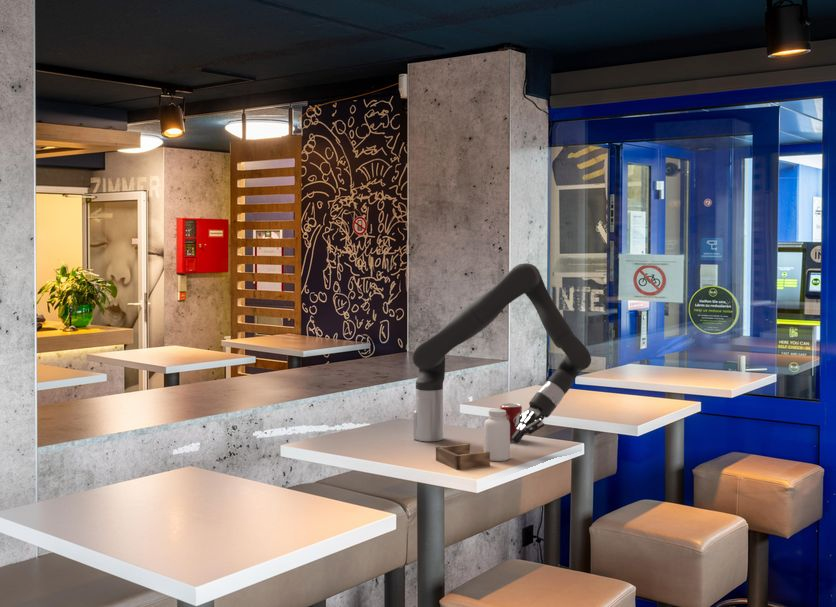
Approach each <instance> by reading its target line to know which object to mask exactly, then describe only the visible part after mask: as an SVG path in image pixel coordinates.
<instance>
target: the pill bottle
mask: <svg viewBox="0 0 836 607" xmlns="http://www.w3.org/2000/svg"><path fill="white" fill-rule="evenodd" d="M505 417H506V411H505V410H502V409H500V408H498V409H497V408H493V409H492V408H491V409H489V410H488V418H487V419H485V421H484V423H483V452H487V451H488V452H490V461H491V462H504V461H508V460H509V459H510V457H511V442H510V422H509V421H508V420H507V419H505Z"/></svg>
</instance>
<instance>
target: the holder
mask: <svg viewBox="0 0 836 607" xmlns="http://www.w3.org/2000/svg"><path fill="white" fill-rule="evenodd" d="M435 461H437V462H438V463H442V464H444V465H445V466H447V467H451V468H452V469H454V470H456V471H457V470H465V469H472V468H474V469H475V468H481V467H488V466H489V467H490V466H491V462H490V461H491V460H490V452H488V451H487V452H484V451H481V452H479V451H478V452H471V445H470V443H463V444H461V443H460V444H454V445H453V444H452V445H443V446H435Z"/></svg>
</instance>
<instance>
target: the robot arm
mask: <svg viewBox="0 0 836 607" xmlns="http://www.w3.org/2000/svg"><path fill="white" fill-rule="evenodd" d="M522 295H525V296H526V297H527V298H528V299H529V301H530V302H531V304H532V305H533V307H534V308H535V310H536V313H537V314H538V316H539V319H540V322H541V323H542V327H543V328H544V329H545V331H546V333H547V334H548V336H549V338H550V339H551V341H552V343H553V344H554V346H555V347H557V348H558V349H561V350H562V352H563V353H564V354H565V356H564V357H563V359H562V360H561V362H560V363H559V365H558V366H557V368H556V370H555V371H554V372H553V373H552V374H551V376H550V377H549V378H548V379H547V381H546V382H545V383H543V385H542V386H541V387H540V388H539V389H538V391H536V393H534V396H533V397H532V398H531V399H530V400H529V402H528V404H529V407H528V408H527V409H526V410H525V411H524V412H523V413H522V414H521V413H518V415H517V419H516V424H515V426H516V428H517V431H516V432H515V433H514V434H513V436H512V437H511V440H512V441H513V442H512V443H515V444H518V443H519V442H521V441H522V439H523V437H524V436H526V435H532V434H533V433H535V432H537V431H538V430H540V429H542V428H543V427H544V426H545V423H544V422H543V421H544V419H545V418H546V419H547V418H549V417H550V415H551V414H552V413H553V412H554V411H555V409H556V408H557V407H558V405H559V404H560V403H561V402H562V400H563V398H564V396H565V395H566V394H567V393H568V391H570V389H571V387H572V386H573V384H574V381H575V379H576V378H577V377H578V375H579V374H580V373H581V372H582V371H584V370H586V369H588V368H589V367H590V366H591V363H592V356H591V354H590V351H589V349H588V348H587V347H586V346H585V345H584V344H583V342H582V341H581V340H580V339H579V338H578V337H577V336H576V335H575V334H574V332H573V330H572V329H571V327H570V326H569V324H568V323H567V321H566V319H565V318H564V316H563V315H562V313H561V312H560V310H559V309H558V307H557V305H556V303H555V302H554V300H553V299H552V296H551V295H550V293H549V291H548V289H547V287H546V284H545V282H544V280H543V278H542V274H541V273H540V270H539V269H538V268H537V267H536V266H535V265H533V264H532V263H528V262H527V263H526V262H525V263H520V264H517V265H515V266H514V267H512V269H510V270H509V271H508V273H507V274H506V275H504V277H503V278H502V279H501V280H500V281H498V283H497V284H495V285H494V286H493V287H492V288H490V289H489V290H487V291H486V292H484V293H483V294H481V295H480V296H478V297H477V298H476V299H474V300H473V301H472V302H471V303H470V304H468V305H467V306H466V307H464V308H463V309H461V310H460V311H459V313H457V314H456V315H455V316H454V317H453V318H452V319H450V321H448V323H447V324H446V325H445V326H443V328H441V329H440V330H439V331H438V332H436V333H435V334H434V335H432V336H430V338H427V339H426V340H424V341H423V342H421V343H419V344H418V345H417V346H416V347H415V349H414V350H413V352H412V362H413V364H414V365H415V367H417V368H418V375H417V378H416V379H415V380H416V381H415V410H414V411H413V440H416V441H420V442H421V441H422V442H438V441H439V442H440V441H442V440H443V439H444V381H445V376H446V355H447V354H449V353H450V351H452V350H453V349H454V348H456V347H458V346H460V345H461V344H463V343H465V342H467V341H468V340H470V339H472V338H473V337H474V336H476V335H477V334H479V333H480V332H482V330H484V329H486V327H488V326H489V325H490V324H491V323H492V322H493V321H494V320H495V319H496V318H497V317H498V316H499V315H500V314H501V313H502V311H503V310H504V309H506V307H507V306H508V305H509V304H511V303H512V302H513V301H515V300H517V299H518V298H519V297H521V296H522ZM521 438H522V439H521ZM520 440H521V441H520Z"/></svg>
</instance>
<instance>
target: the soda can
mask: <svg viewBox="0 0 836 607" xmlns="http://www.w3.org/2000/svg"><path fill="white" fill-rule="evenodd" d="M499 409H502V410H505V411H506V417H505V419H507V420H508V421H509V422H510V443H514V442H513V441H512V440H511V437H512V436H513V434H514V433H515V432H516V431H517V428H516V426H515V424H516V419H517V415H518V413H521V414H523V407H522V405H521V404H519V403H501V405H500V406H499ZM522 440H523V437H522V438H521V440H520V441H519V442H521V441H522Z"/></svg>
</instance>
